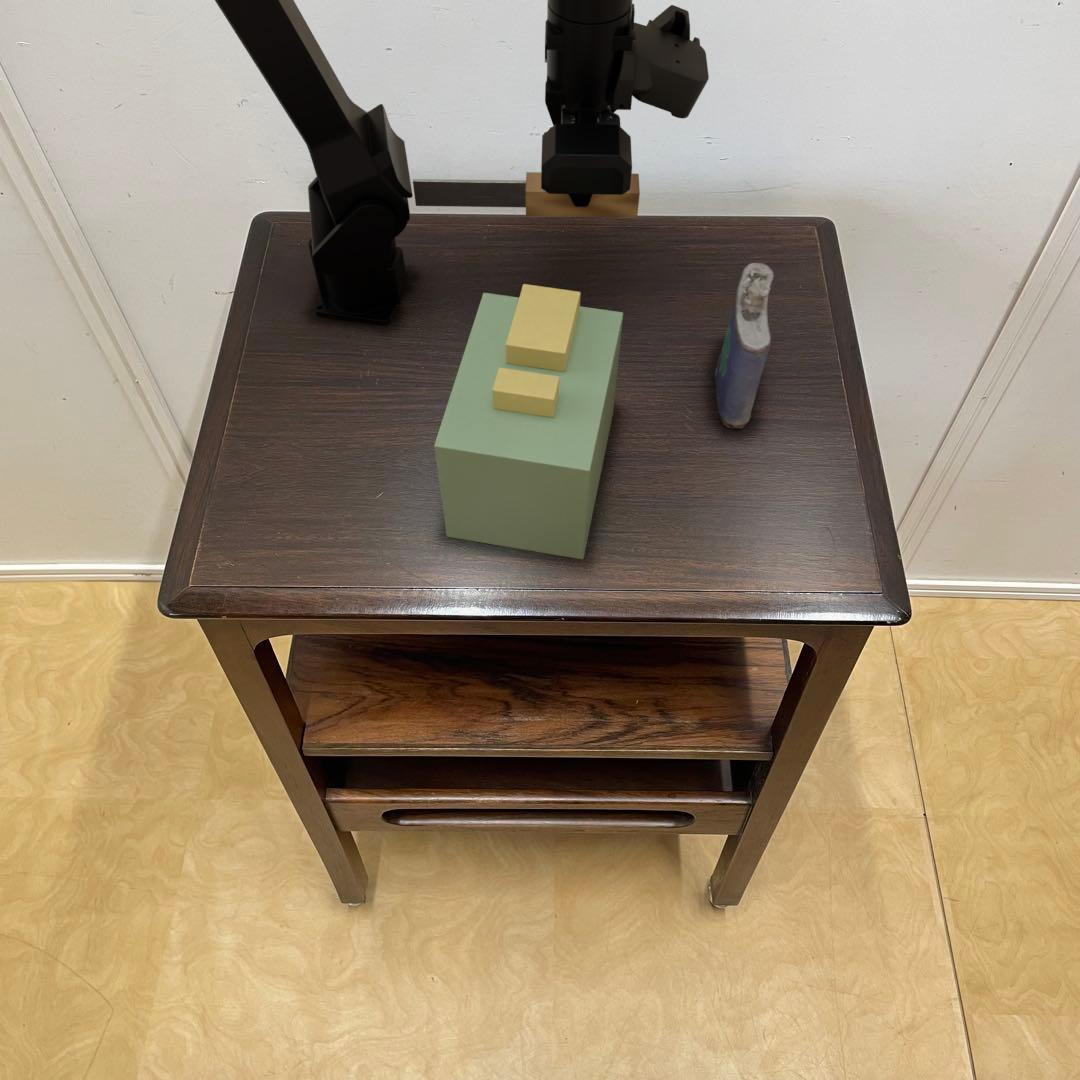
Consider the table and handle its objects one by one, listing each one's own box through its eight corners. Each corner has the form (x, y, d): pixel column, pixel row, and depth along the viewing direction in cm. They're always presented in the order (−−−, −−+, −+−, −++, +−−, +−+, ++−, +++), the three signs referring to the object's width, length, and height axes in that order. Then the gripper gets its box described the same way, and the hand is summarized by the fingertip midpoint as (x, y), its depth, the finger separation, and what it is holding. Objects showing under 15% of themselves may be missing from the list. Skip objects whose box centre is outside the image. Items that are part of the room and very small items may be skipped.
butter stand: (446, 537, 72) (433, 445, 63) (489, 391, 79) (483, 292, 70) (583, 560, 71) (590, 470, 62) (613, 411, 78) (623, 311, 69)
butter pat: (492, 408, 64) (491, 390, 63) (499, 385, 66) (498, 367, 64) (553, 418, 64) (554, 399, 63) (559, 394, 65) (559, 376, 64)
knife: (636, 198, 82) (638, 173, 80) (637, 217, 80) (639, 192, 78) (417, 195, 82) (414, 170, 80) (414, 214, 81) (411, 189, 79)
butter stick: (506, 363, 67) (505, 344, 65) (523, 302, 70) (523, 283, 68) (564, 372, 66) (565, 353, 65) (579, 310, 69) (580, 291, 68)
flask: (749, 432, 77) (777, 332, 68) (711, 427, 77) (734, 327, 68) (753, 345, 82) (779, 241, 73) (717, 341, 82) (739, 237, 73)
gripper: (720, 85, 62) (688, 277, 75) (700, -69, 72) (675, 124, 85) (541, 83, 62) (540, 275, 75) (546, -71, 72) (544, 122, 85)
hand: (581, 194), depth 80 cm, fingers closed on knife, 2 cm apart
